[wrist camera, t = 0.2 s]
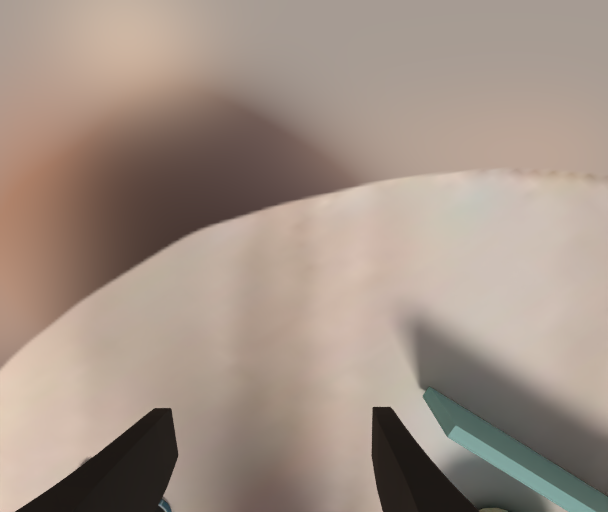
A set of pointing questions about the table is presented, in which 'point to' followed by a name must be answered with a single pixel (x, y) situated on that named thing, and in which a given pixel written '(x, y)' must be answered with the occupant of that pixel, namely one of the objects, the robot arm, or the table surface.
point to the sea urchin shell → (492, 510)
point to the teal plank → (514, 457)
